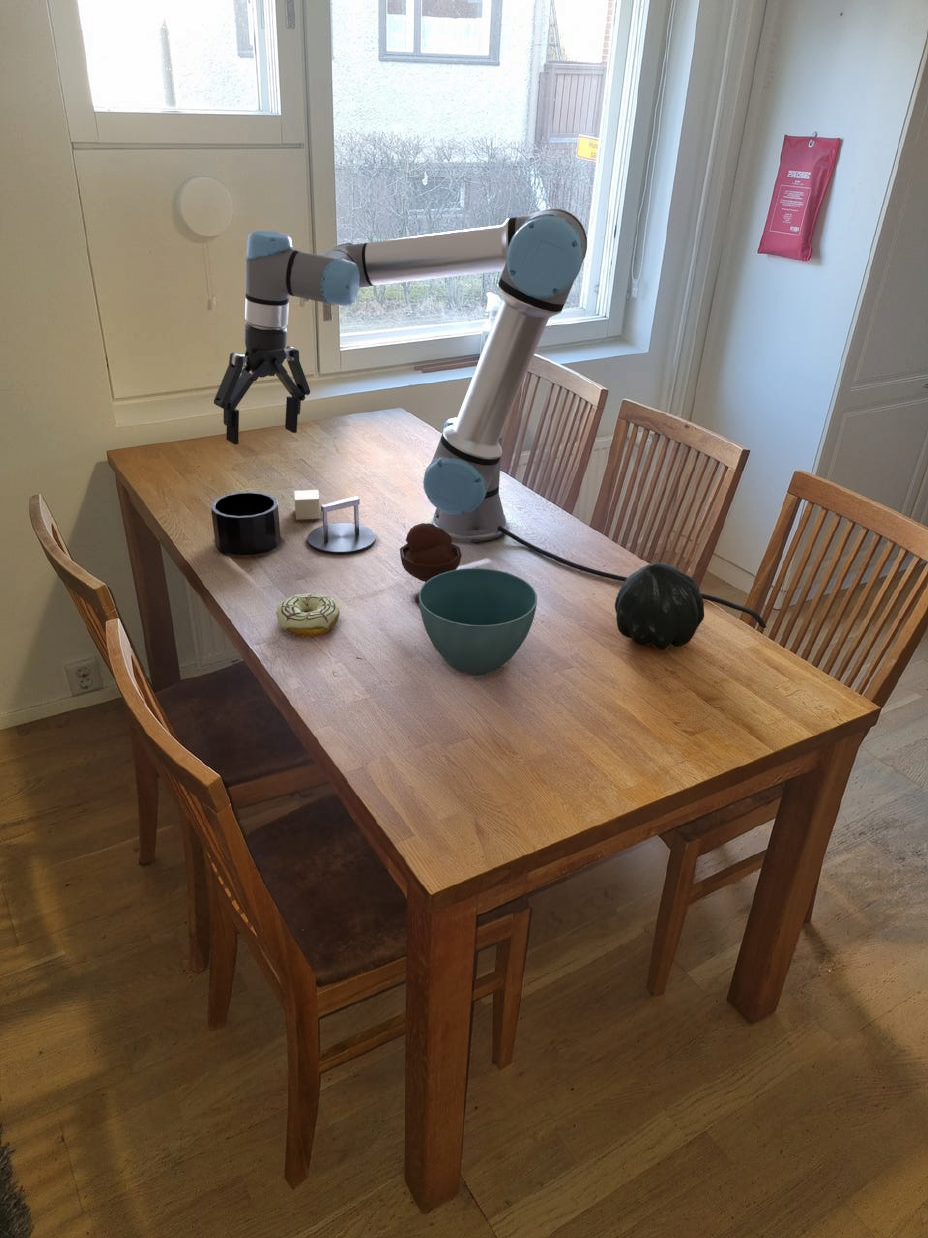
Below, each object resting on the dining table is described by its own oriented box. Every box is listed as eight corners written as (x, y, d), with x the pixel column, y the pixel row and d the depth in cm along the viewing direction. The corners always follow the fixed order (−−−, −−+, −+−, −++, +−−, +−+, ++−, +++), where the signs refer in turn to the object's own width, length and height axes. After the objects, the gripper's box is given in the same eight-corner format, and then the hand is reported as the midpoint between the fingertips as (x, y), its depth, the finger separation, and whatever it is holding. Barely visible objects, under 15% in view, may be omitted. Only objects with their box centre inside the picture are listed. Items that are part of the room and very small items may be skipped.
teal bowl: (495, 708, 134) (499, 637, 128) (396, 669, 142) (395, 601, 136) (551, 653, 148) (557, 588, 142) (457, 621, 156) (459, 557, 150)
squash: (718, 595, 155) (669, 530, 151) (720, 642, 143) (667, 573, 139) (648, 632, 162) (599, 572, 158) (645, 681, 150) (592, 616, 145)
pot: (291, 548, 178) (288, 508, 174) (231, 563, 172) (226, 522, 168) (264, 525, 187) (261, 487, 183) (206, 539, 181) (201, 499, 176)
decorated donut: (274, 641, 149) (272, 621, 147) (281, 608, 158) (279, 589, 156) (337, 640, 149) (336, 620, 147) (341, 607, 159) (340, 588, 157)
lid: (388, 547, 180) (387, 506, 176) (327, 563, 173) (325, 521, 169) (354, 523, 190) (353, 483, 185) (296, 537, 183) (293, 496, 178)
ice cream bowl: (454, 617, 157) (456, 539, 149) (392, 609, 159) (391, 531, 151) (466, 589, 166) (468, 514, 158) (407, 582, 168) (407, 507, 160)
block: (319, 511, 194) (318, 489, 192) (320, 520, 190) (319, 498, 188) (295, 512, 193) (294, 490, 191) (296, 521, 189) (294, 499, 187)
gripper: (308, 313, 173) (301, 419, 184) (193, 323, 156) (194, 439, 167) (333, 324, 169) (325, 432, 180) (218, 336, 152) (217, 454, 163)
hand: (262, 436), depth 173 cm, fingers open, 13 cm apart
